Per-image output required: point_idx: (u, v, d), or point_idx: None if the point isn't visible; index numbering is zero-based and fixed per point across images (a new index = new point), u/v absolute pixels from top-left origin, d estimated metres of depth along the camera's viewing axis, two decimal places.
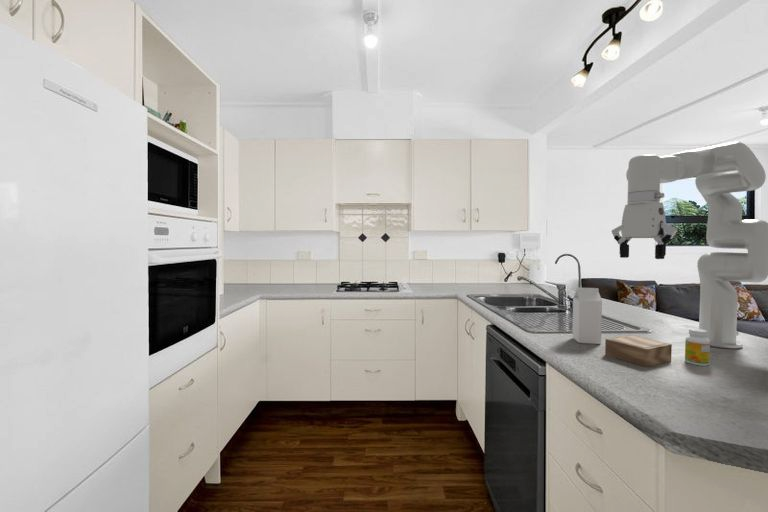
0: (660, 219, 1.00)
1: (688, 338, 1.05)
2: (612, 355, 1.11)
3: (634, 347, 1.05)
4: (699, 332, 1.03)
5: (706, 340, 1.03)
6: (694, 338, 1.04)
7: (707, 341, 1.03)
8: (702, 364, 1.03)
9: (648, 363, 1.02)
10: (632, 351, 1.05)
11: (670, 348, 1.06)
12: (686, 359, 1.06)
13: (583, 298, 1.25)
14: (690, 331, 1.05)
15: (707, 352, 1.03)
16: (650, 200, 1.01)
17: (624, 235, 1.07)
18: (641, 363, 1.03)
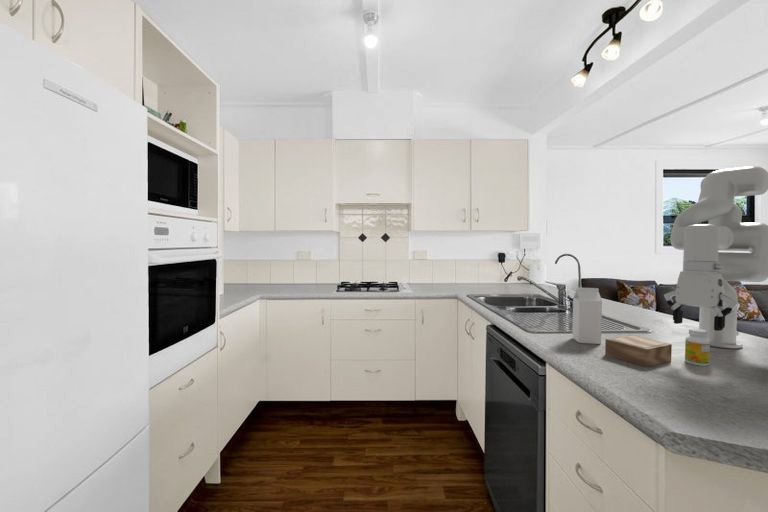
0: (719, 290, 0.99)
1: (688, 338, 1.05)
2: (612, 355, 1.11)
3: (634, 347, 1.05)
4: (699, 332, 1.03)
5: (706, 340, 1.03)
6: (694, 338, 1.04)
7: (707, 341, 1.03)
8: (702, 364, 1.03)
9: (648, 363, 1.02)
10: (632, 351, 1.05)
11: (670, 348, 1.06)
12: (686, 359, 1.06)
13: (583, 298, 1.25)
14: (690, 331, 1.05)
15: (707, 352, 1.03)
16: (709, 271, 1.00)
17: (679, 302, 1.07)
18: (641, 363, 1.03)
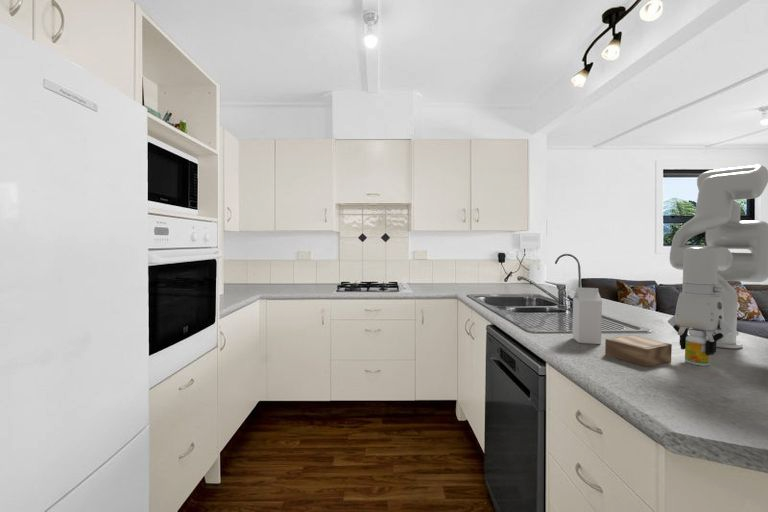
0: (719, 314, 1.00)
1: (688, 338, 1.05)
2: (612, 355, 1.11)
3: (634, 347, 1.05)
4: (699, 332, 1.03)
5: (706, 340, 1.03)
6: (694, 338, 1.04)
7: None
8: (702, 364, 1.03)
9: (648, 363, 1.02)
10: (632, 351, 1.05)
11: (670, 348, 1.06)
12: (686, 359, 1.06)
13: (583, 298, 1.25)
14: (690, 331, 1.05)
15: None
16: (708, 294, 1.01)
17: (679, 323, 1.07)
18: (641, 363, 1.03)
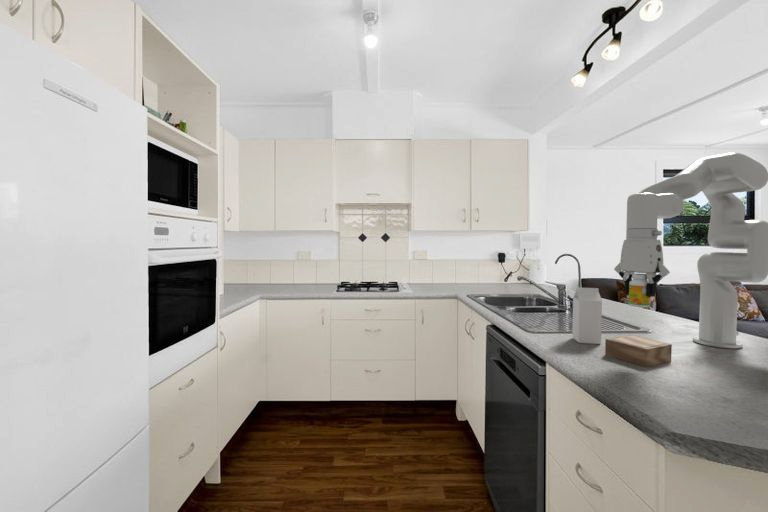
0: (658, 256, 1.04)
1: (631, 282, 1.09)
2: (612, 355, 1.11)
3: (634, 347, 1.05)
4: (640, 275, 1.07)
5: (647, 282, 1.07)
6: (636, 281, 1.08)
7: None
8: (643, 306, 1.07)
9: (648, 363, 1.02)
10: (632, 351, 1.05)
11: (670, 348, 1.06)
12: (629, 302, 1.10)
13: (583, 298, 1.25)
14: (633, 275, 1.09)
15: None
16: (648, 237, 1.05)
17: (623, 269, 1.11)
18: (641, 363, 1.03)
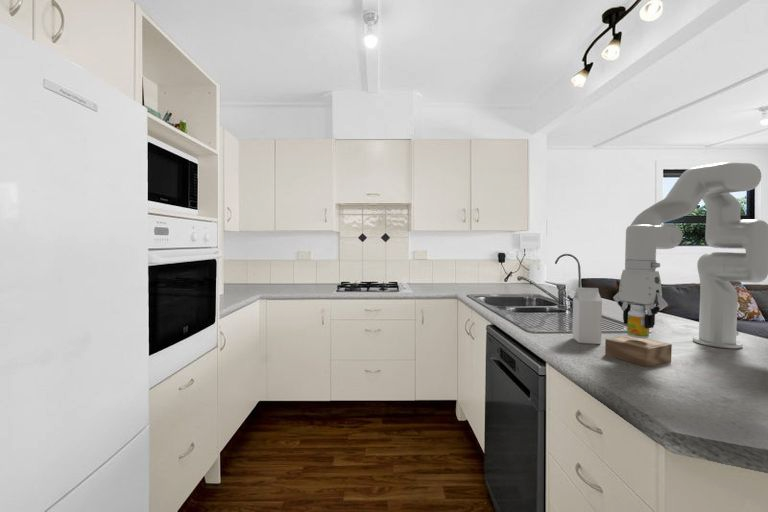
0: (656, 288, 1.04)
1: (629, 312, 1.09)
2: (612, 355, 1.11)
3: (634, 347, 1.05)
4: (639, 306, 1.08)
5: (645, 314, 1.07)
6: (634, 312, 1.08)
7: None
8: (641, 337, 1.07)
9: (648, 363, 1.02)
10: (632, 351, 1.05)
11: (670, 348, 1.06)
12: (628, 333, 1.10)
13: (583, 298, 1.25)
14: (631, 306, 1.09)
15: None
16: (646, 269, 1.05)
17: (622, 299, 1.12)
18: (641, 363, 1.03)
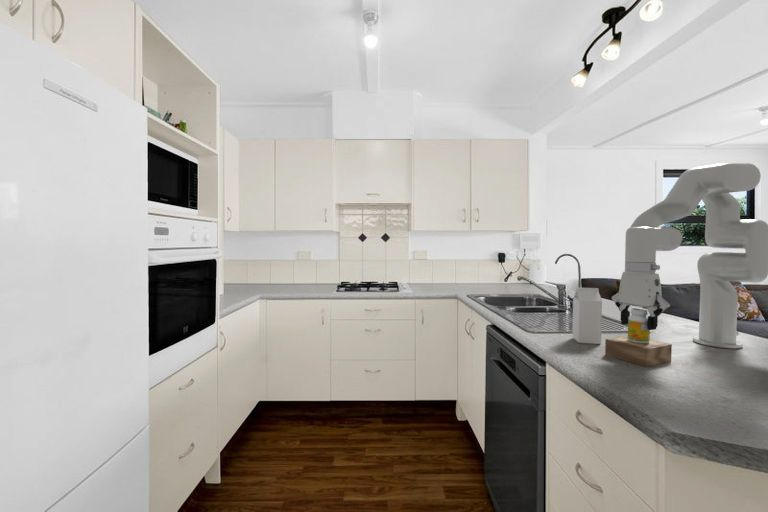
0: (656, 290, 1.04)
1: (630, 317, 1.10)
2: (612, 355, 1.11)
3: (634, 347, 1.05)
4: (639, 311, 1.08)
5: (646, 319, 1.07)
6: (635, 317, 1.08)
7: (647, 320, 1.07)
8: (642, 342, 1.07)
9: (648, 363, 1.02)
10: (632, 351, 1.05)
11: (670, 348, 1.06)
12: (628, 338, 1.10)
13: (583, 298, 1.25)
14: (632, 311, 1.09)
15: (647, 330, 1.07)
16: (646, 271, 1.05)
17: (622, 301, 1.12)
18: (641, 363, 1.03)
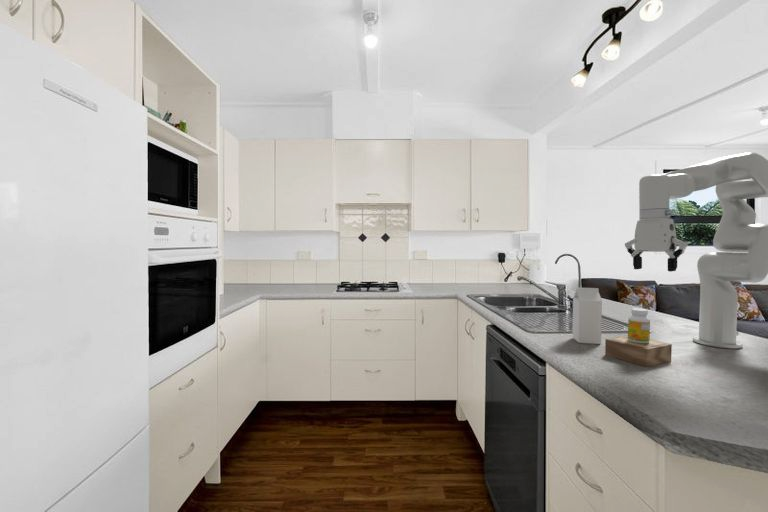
0: (671, 234, 1.08)
1: (630, 317, 1.10)
2: (612, 355, 1.11)
3: (634, 347, 1.05)
4: (639, 311, 1.08)
5: (646, 319, 1.07)
6: (635, 317, 1.08)
7: (647, 320, 1.07)
8: (642, 342, 1.07)
9: (648, 363, 1.02)
10: (632, 351, 1.05)
11: (670, 348, 1.06)
12: (628, 337, 1.10)
13: (583, 298, 1.25)
14: (632, 310, 1.09)
15: (647, 330, 1.07)
16: (661, 217, 1.09)
17: (637, 249, 1.16)
18: (641, 363, 1.03)
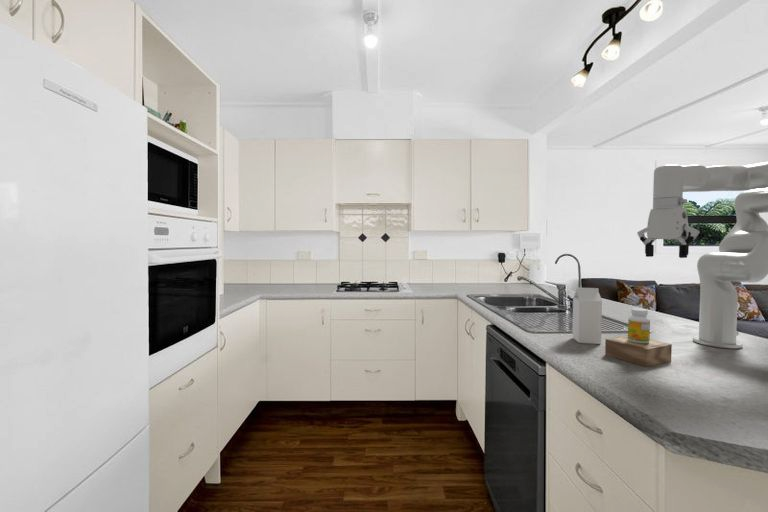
0: (683, 222, 1.12)
1: (630, 317, 1.10)
2: (612, 355, 1.11)
3: (634, 347, 1.05)
4: (639, 311, 1.08)
5: (646, 319, 1.07)
6: (635, 317, 1.08)
7: (647, 320, 1.07)
8: (642, 342, 1.07)
9: (648, 363, 1.02)
10: (632, 351, 1.05)
11: (670, 348, 1.06)
12: (628, 337, 1.10)
13: (583, 298, 1.25)
14: (632, 310, 1.09)
15: (647, 330, 1.07)
16: (674, 205, 1.13)
17: (650, 236, 1.20)
18: (641, 363, 1.03)
